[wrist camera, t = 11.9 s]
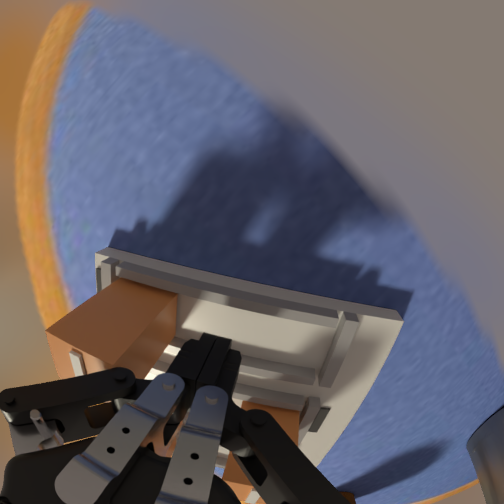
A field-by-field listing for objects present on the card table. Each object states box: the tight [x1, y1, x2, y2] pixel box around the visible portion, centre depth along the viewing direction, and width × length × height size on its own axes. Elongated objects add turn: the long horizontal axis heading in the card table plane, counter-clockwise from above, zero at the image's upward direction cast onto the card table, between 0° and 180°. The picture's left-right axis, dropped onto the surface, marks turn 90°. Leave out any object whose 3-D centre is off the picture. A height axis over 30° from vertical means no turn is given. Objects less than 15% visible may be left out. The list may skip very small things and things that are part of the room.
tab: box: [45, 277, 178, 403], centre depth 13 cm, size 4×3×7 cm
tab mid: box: [222, 401, 299, 504], centre depth 14 cm, size 4×3×7 cm
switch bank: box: [95, 247, 404, 469], centre depth 18 cm, size 20×19×2 cm
